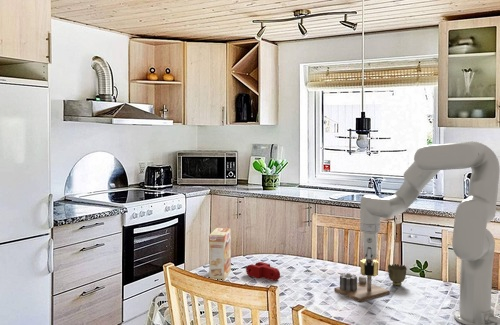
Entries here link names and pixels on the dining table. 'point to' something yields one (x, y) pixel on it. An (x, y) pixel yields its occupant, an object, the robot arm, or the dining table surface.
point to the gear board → (359, 288)
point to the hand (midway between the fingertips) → (369, 272)
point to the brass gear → (375, 270)
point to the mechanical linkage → (263, 271)
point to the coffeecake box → (220, 253)
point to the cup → (397, 274)
